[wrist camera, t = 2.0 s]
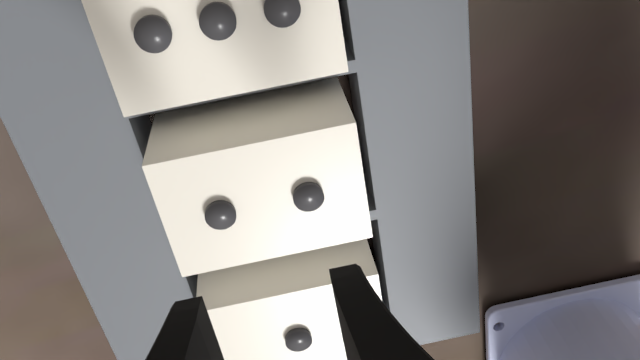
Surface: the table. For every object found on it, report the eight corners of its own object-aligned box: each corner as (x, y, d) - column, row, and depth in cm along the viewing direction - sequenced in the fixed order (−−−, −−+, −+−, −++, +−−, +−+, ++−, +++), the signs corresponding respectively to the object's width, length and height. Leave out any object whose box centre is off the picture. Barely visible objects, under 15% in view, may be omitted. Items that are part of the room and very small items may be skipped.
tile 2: (371, 294, 25) (391, 364, 22) (225, 325, 25) (225, 400, 22) (358, 214, 23) (379, 278, 20) (199, 247, 23) (194, 317, 19)
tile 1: (353, 180, 22) (374, 241, 19) (188, 214, 22) (181, 281, 19) (337, 77, 20) (357, 125, 17) (155, 113, 20) (140, 170, 17)
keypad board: (460, 291, 27) (479, 332, 25) (146, 358, 27) (139, 405, 25) (431, -216, 17) (459, -221, 15) (-67, -121, 17) (-110, -112, 15)
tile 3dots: (329, 32, 19) (349, 74, 16) (140, 70, 19) (122, 120, 16) (308, -107, 17) (326, -90, 14) (95, -65, 17) (64, -38, 14)
